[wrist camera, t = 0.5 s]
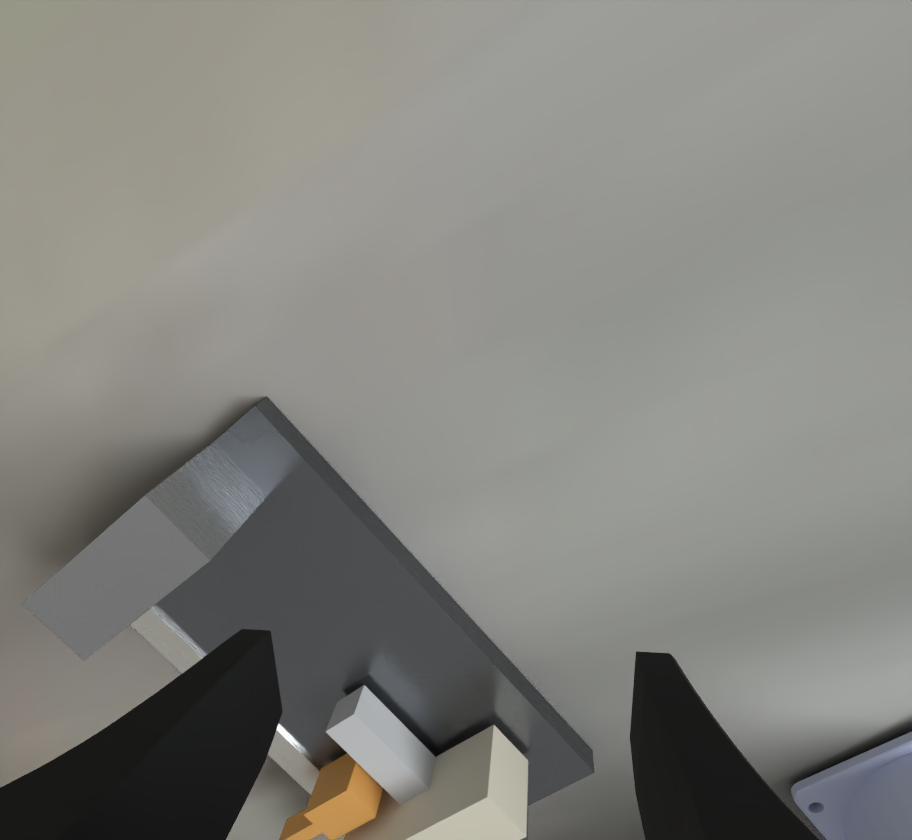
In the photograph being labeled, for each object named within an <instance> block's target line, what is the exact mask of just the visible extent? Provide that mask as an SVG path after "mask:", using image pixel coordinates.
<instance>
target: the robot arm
mask: <svg viewBox="0 0 912 840" xmlns="http://www.w3.org/2000/svg"><path fill="white" fill-rule="evenodd" d="M282 712H283V710H282V703H281V697H280V690H279V683H278V676H277V670H276V663H275V656H274V650H273V643H272V636H271V631H270V630H253V629H241V630H240V631H239V632H237V633H236V634H234V635H233V636H231V637H230V638H229V639H227V640H226V641H225V642H223V643H222V644H221V645H219V646H218V647H217V648H215V649H214V650H213V651H211V652H210V653H209V654H207V655H206V656H205V657H204V658H202V659H201V660H200V661H198V662H197V663H196V664H194V665H193V666H192V667H190V668H189V669H188V670H186V671H185V672H184V673H182V674H181V675H180V676H178V677H177V678H176V679H174V680H173V681H172V682H170V683H169V684H168V685H166V686H165V687H164V688H162V689H161V690H160V691H158V692H157V693H156V694H154V695H153V696H151V697H150V698H148V699H147V700H145V701H144V702H143V703H141V704H140V705H138V706H137V707H135V708H134V709H132V710H131V711H130V712H128V713H127V714H125V715H124V716H122V717H121V718H119V719H118V720H117V721H115V722H114V723H112V724H111V725H109V726H108V727H106V728H105V729H103V730H102V731H100V732H99V733H97V734H95V735H94V736H92V737H91V738H89V739H87V740H86V741H84V742H83V743H81V744H79V745H78V746H76V747H74V748H73V749H71V750H69V751H67V752H66V753H64V754H62V755H61V756H59V757H57V758H56V759H54V760H52V761H50V762H49V763H47V764H45V765H43V766H41V767H40V768H38V769H36V770H34V771H32V772H30V773H28V774H26V775H24V776H22V777H20V778H18V779H17V780H15V781H13V782H11V783H9V784H7V785H5V786H3V787H1V788H0V840H226V838H227V836H228V834H229V832H230V830H231V828H232V826H233V824H234V822H235V820H236V818H237V816H238V814H239V812H240V811H241V809H242V807H243V805H244V803H245V801H246V799H247V797H248V795H249V793H250V791H251V789H252V787H253V785H254V783H255V781H256V779H257V777H258V775H259V773H260V770H261V768H262V766H263V764H264V762H265V760H266V757H267V754H268V752H269V749H270V746H271V744H272V741H273V738H274V736H275V733H276V730H277V727H278V724H279V721H280V718H281V715H282ZM630 742H631V752H632V762H633V772H634V781H635V790H636V796H637V801H638V806H639V811H640V815H641V820H642V825H643V830H644V834H645V839H646V840H819V839H818V838H817V837H816V836H815V835H814V834H813V833H812V832H811V831H810V830H809V829H808V828H807V827H806V826H805V825H804V824H803V823H802V822H801V821H800V820H799V819H798V818H797V816H796V815H795V814H794V813H793V812H792V811H791V810H790V809H789V808H788V807H787V806H786V805H785V804H784V803H783V802H782V800H781V799H780V798H779V797H778V796H777V795H776V794H775V793H774V791H773V790H772V789H771V788H770V787H769V786H768V785H767V783H766V782H765V781H764V780H763V779H762V778H761V776H760V775H759V774H758V773H757V772H756V770H755V769H754V768H753V767H752V766H751V765H750V763H749V762H748V761H747V760H746V758H745V757H744V756H743V755H742V753H741V752H740V751H739V750H738V748H737V747H736V746H735V745H734V743H733V742H732V741H731V739H730V738H729V737H728V735H727V734H726V733H725V731H724V730H723V729H722V727H721V726H720V725H719V723H718V722H717V721H716V719H715V718H714V717H713V715H712V714H711V713H710V711H709V710H708V708H707V707H706V706H705V704H704V703H703V701H702V700H701V698H700V697H699V695H698V694H697V692H696V691H695V690H694V688H693V687H692V685H691V684H690V682H689V680H688V679H687V677H686V676H685V674H684V673H683V671H682V669H681V668H680V666H679V665H678V663H677V661H676V660H675V659H674V657H673V656H672V655H671V654H669V653H651V652H636V660H635V675H634V689H633V703H632V717H631V731H630ZM791 794H792V797H793V799H794V801H795V803H796V804H797V806H798V807H799V808H800V809H801V810H802V811H803V813H804V814H805V815H806V816H807V817H808V818H809V820H810V821H811V822H812V823H813V824H814V826H815V827H816V828H817V829H818V830H819V831H820V833H821V834H822V835H823V836H824V837H825V838H826V840H912V732H909V733H907V734H905V735H902V736H900V737H898V738H896V739H893V740H891V741H889V742H887V743H884V744H882V745H880V746H878V747H875V748H873V749H871V750H869V751H866V752H864V753H862V754H860V755H857V756H855V757H853V758H851V759H848V760H846V761H844V762H842V763H839V764H837V765H835V766H833V767H830V768H828V769H826V770H823V771H821V772H819V773H817V774H814V775H812V776H810V777H808V778H805V779H803V780H801V781H799V782H797V783H795V784H794V785H793V786H792V788H791ZM815 802H817V803H815ZM812 803H813V804H812Z"/></svg>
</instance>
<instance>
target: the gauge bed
mask: <svg viewBox="0 0 912 840" xmlns="http://www.w3.org/2000/svg"><path fill="white" fill-rule="evenodd" d="M22 605H24V606H25V607H26V608H27V609H28V610H29V611H30V612H31V613H32V614H33V615H34V616H36V617H37V618H38V619H39V620H40V621H41V622H42V623H43V624H44V625H45V626H46V627H48V628H49V629H50V630H51V631H52V632H53V633H54V634H55V635H56V636H57V637H59V638H60V639H61V640H62V641H63V642H64V643H65V644H66V645H67V646H68V647H69V648H71V649H72V650H73V651H74V652H75V653H76V654H77V655H78V656H79V657H80V658H81V659H83V660H85V659H87V658H88V657H89V656H90V655H92V654H93V653H94V652H95V651H97V650H98V649H99V648H100V647H102V646H103V645H104V644H106V643H107V642H108V641H109V640H111V639H112V638H113V637H114V636H116V635H117V634H118V633H119V632H121V631H122V630H123V629H124V628H126V627H127V626H128V625H131V626H132V627H133V628H134V629H135V630H136V631H137V632H139V633H140V634H141V635H142V636H143V637H144V638H145V639H146V640H147V641H148V642H149V643H150V644H151V645H152V646H153V647H154V648H155V649H157V650H158V651H159V652H160V653H161V654H162V655H163V656H164V657H165V658H166V659H167V660H168V661H169V662H170V663H171V664H172V665H173V666H175V667H176V668H177V669H178V670H179V671H180V672H181V673H184V672H185V671H186V670H188V669H189V668H190V667H192V666H193V665H194V664H196V663H197V662H198V661H200V660H201V659H202V658H204V657H205V656H206V655H207V654H209V653H210V652H211V651H213V650H214V649H215V648H217V647H218V646H219V645H221V644H222V643H223V642H225V641H226V640H227V639H229V638H230V637H231V636H233V635H234V634H236V633H237V632H239V631H240V630H241V629H253V630H270V631H271V636H272V643H273V650H274V656H275V663H276V670H277V676H278V683H279V690H280V697H281V703H282V710H283V712H282V715H281V718H280V721H279V724H278V727H277V730H276V733H275V736H274V738H273V741H272V744H271V746H270V749H269V752H268V755H269V756H270V757H271V758H272V759H273V760H274V761H275V762H276V763H277V764H278V765H279V766H280V767H282V768H283V769H284V770H285V771H286V772H287V773H288V774H289V775H290V776H291V777H292V778H293V779H294V780H295V781H296V782H297V783H298V784H300V785H301V786H302V787H303V788H304V789H305V790H306V791H307V792H308V793H309V794H310V795H311V794H312V791H313V789H314V786H315V783H316V781H317V778H318V775H319V773H320V770H321V768H323V767H325V766H326V765H328V764H330V763H331V762H333V761H335V760H337V759H338V758H340V757H342V756H343V755H345V754H347V752H346V751H345V750H344V749H343V748H342V747H341V746H340V745H339V744H338V743H337V742H336V741H335V740H333V739H332V738H331V737H330V736H329V735H328V734H327V733H326V732H325V731H326V729H327V726H328V724H329V721H330V719H331V716H332V714H333V711H334V709H335V706H336V704H337V702H338V701H340V700H341V699H343V698H344V697H346V696H348V695H349V694H351V693H352V692H354V691H356V690H357V689H359V688H360V687H362V686H363V685H365V686H366V687H367V688H368V689H369V690H370V691H371V692H372V693H373V694H374V695H375V696H376V697H377V698H378V699H379V700H380V701H381V702H382V703H383V704H384V705H385V706H386V707H387V708H388V709H389V710H390V711H391V712H392V713H393V714H394V715H395V716H396V717H397V718H398V719H399V720H400V721H401V722H402V724H403V725H404V726H405V727H406V728H407V729H408V730H409V731H410V732H411V733H412V734H413V735H414V736H415V737H416V738H417V739H418V740H419V741H420V742H421V743H422V744H423V745H424V746H425V747H426V748H427V749H428V750H429V751H430V752H431V753H432V754H433V755H434V756H435V757H437V756H438V755H440V754H442V753H444V752H446V751H447V750H449V749H451V748H453V747H454V746H456V745H458V744H460V743H462V742H463V741H465V740H467V739H469V738H471V737H472V736H474V735H476V734H478V733H480V732H481V731H483V730H485V729H487V728H488V727H490V726H492V725H495V726H496V727H497V728H498V729H499V730H500V731H501V733H502V734H503V735H504V736H505V737H506V738H507V739H508V740H509V741H510V742H511V743H512V744H513V745H514V746H515V747H516V748H517V749H518V750H519V751H520V753H521V754H522V755H523V756H524V757H525V758H526V759H527V760H528V772H529V790H528V805H530V804H532V803H534V802H536V801H538V800H540V799H542V798H544V797H546V796H548V795H550V794H552V793H554V792H556V791H558V790H560V789H562V788H564V787H566V786H568V785H570V784H572V783H574V782H576V781H578V780H580V779H582V778H584V777H586V776H588V775H590V774H592V773H594V764H593V752H592V750H591V749H590V747H589V746H588V745H587V744H586V743H585V742H584V741H583V740H582V739H581V738H580V737H579V736H578V734H577V733H576V732H575V731H574V730H573V729H572V728H571V727H570V726H569V725H568V724H567V722H566V721H565V720H564V719H563V718H562V717H561V716H560V715H559V714H558V713H557V712H556V711H555V709H554V708H553V707H552V706H551V705H550V704H549V703H548V702H547V701H546V700H545V699H544V697H543V696H542V695H541V694H540V693H539V692H538V691H537V690H536V689H535V688H534V687H533V685H532V684H531V683H530V682H529V681H528V680H527V679H526V678H525V677H524V676H523V675H522V674H521V672H520V671H519V670H518V669H517V668H516V667H515V666H514V665H513V664H512V663H511V662H510V660H509V659H508V658H507V657H506V656H505V655H504V654H503V653H502V652H501V651H500V650H499V649H498V647H497V646H496V645H495V644H494V643H493V642H492V641H491V640H490V639H489V638H488V637H487V635H486V634H485V633H484V632H483V631H482V630H481V629H480V628H479V627H478V626H477V625H476V623H475V622H474V621H473V620H472V619H471V618H470V617H469V616H468V615H467V614H466V613H465V612H464V610H463V609H462V608H461V607H460V606H459V605H458V604H457V603H456V602H455V601H454V600H453V598H452V597H451V596H450V595H449V594H448V593H447V592H446V591H445V590H444V589H443V588H442V587H441V585H440V584H439V583H438V582H437V581H436V580H435V579H434V578H433V577H432V576H431V575H430V573H429V572H428V571H427V570H426V569H425V568H424V567H423V566H422V565H421V564H420V563H419V562H418V560H417V559H416V558H415V557H414V556H413V555H412V554H411V553H410V552H409V551H408V550H407V548H406V547H405V546H404V545H403V544H402V543H401V542H400V541H399V540H398V539H397V538H396V536H395V535H394V534H393V533H392V532H391V531H390V530H389V529H388V528H387V527H386V526H385V525H384V523H383V522H382V521H381V520H380V519H379V518H378V517H377V516H376V515H375V514H374V513H373V511H372V510H371V509H370V508H369V507H368V506H367V505H366V504H365V503H364V502H363V501H362V500H361V498H360V497H359V496H358V495H357V494H356V493H355V492H354V491H353V490H352V489H351V488H350V486H349V485H348V484H347V483H346V482H345V481H344V480H343V479H342V478H341V477H340V476H339V474H338V473H337V472H336V471H335V470H334V469H333V468H332V467H331V466H330V465H329V464H328V463H327V461H326V460H325V459H324V458H323V457H322V456H321V455H320V454H319V453H318V452H317V451H316V449H315V448H314V447H313V446H312V445H311V444H310V443H309V442H308V441H307V440H306V439H305V438H304V436H303V435H302V434H301V433H300V432H299V431H298V430H297V429H296V428H295V427H294V426H293V424H292V423H291V422H290V421H289V420H288V419H287V418H286V417H285V416H284V415H283V414H282V413H281V411H280V410H279V409H278V408H277V407H276V406H275V405H274V404H273V403H272V402H271V401H270V399H269V398H268V397H266V398H264V399H263V400H262V401H260V402H259V403H258V404H256V405H255V406H254V407H253V408H252V409H251V410H249V411H248V412H247V413H246V414H245V415H244V416H243V417H241V418H240V419H239V420H238V421H237V422H236V423H235V424H233V425H232V426H231V427H230V428H229V429H228V430H227V431H225V432H224V433H223V434H222V435H221V436H220V437H219V438H217V439H216V440H215V441H214V442H213V443H211V444H210V445H209V446H208V447H206V448H205V449H204V450H202V451H201V452H200V453H199V454H197V455H196V456H195V457H193V458H192V459H191V460H190V461H188V462H187V463H186V464H184V465H183V466H182V467H181V468H179V469H178V470H177V471H175V472H174V473H173V474H172V475H170V476H169V477H168V478H166V479H165V480H164V481H163V482H161V483H160V484H159V485H157V486H156V487H155V488H154V489H152V490H151V491H150V492H148V493H147V494H146V495H145V496H144V497H142V498H141V499H140V500H139V501H138V502H137V503H136V504H134V505H133V506H132V507H131V508H130V509H129V510H128V511H126V512H125V513H124V514H123V515H122V516H121V517H120V518H119V519H117V520H116V521H115V522H114V523H113V524H112V525H111V526H109V527H108V528H107V529H106V530H105V531H104V532H103V533H101V534H100V535H99V536H98V537H97V538H96V539H95V540H94V541H92V542H91V543H90V544H89V545H88V546H87V547H86V548H84V549H83V550H82V551H81V552H80V553H79V554H78V555H77V556H75V557H74V558H73V559H72V560H71V561H70V562H69V563H67V564H66V565H65V566H64V567H63V568H62V569H61V570H59V571H58V572H57V573H56V574H55V575H54V576H53V577H52V578H50V579H49V580H48V581H47V582H46V583H45V584H44V585H42V586H41V587H40V588H39V589H38V590H37V591H36V592H35V593H33V594H32V595H31V596H30V597H29V598H28V599H27V600H25V601H24V602H23V603H22Z"/></svg>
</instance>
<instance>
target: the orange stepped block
mask: <svg viewBox="0 0 912 840" xmlns="http://www.w3.org/2000/svg"><path fill="white" fill-rule="evenodd" d="M382 791H383V787H382V786H381V785H380V784H379V783H378V782H377V781H375V780H374V779H373V778H372V777H371V776H370V775H369V774H368V773H367V772H366V771H365V770H364V769H363V768H362V767H361V766H360V765H359V764H358V763H357V762H356V761H355V760H354V759H353V758H352V757H351V756H350V755H349V754H348V753H347V754H345V755H343V756H342V757H340V758H338V759H337V760H335V761H333V762H331V763H330V764H328V765H326V766H325V767H323V768H321V770H320V773H319V775H318V778H317V781H316V783H315V786H314V789H313V791H312V794H311V797H310V799H309V802H308V804H307V807H306V809H304V810H303V811H301V812H299V813H297V814H296V815H294V816H292V817H290V818H289V819H287V821H286V823H285V826H284V828H283V831H282V833H281V836H280V838H279V840H310V839H312V838H313V837H315V836H317V835H319V834H321V833H323V834H324V835H325V836H327V837H328V838H329V839H330V840H335V839H337V838H339V837H341V836H342V835H344V834H346V833H348V832H350V831H352V830H353V829H355V828H357V827H359V826H361V825H363V824H365V823H366V822H368V821H370V820H372V819H374V818H375V817H376V813H377V810H378V806H379V802H380V798H381V795H382Z"/></svg>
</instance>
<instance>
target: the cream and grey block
mask: <svg viewBox="0 0 912 840" xmlns="http://www.w3.org/2000/svg"><path fill="white" fill-rule="evenodd" d="M325 732H326V733H327V734H328V735H329V736H330V737H331V738H332V739H333V740H335V741H336V742H337V743H338V744H339V745H340V746H341V747H342V748H343V749H344V750H345V751H346V752H347V753H348V754H349V755H350V756H351V757H352V758H353V759H354V760H355V761H356V762H357V763H358V764H359V765H360V766H361V767H362V768H363V769H364V770H365V771H366V772H367V773H368V774H369V775H370V776H371V777H372V778H373V779H374V780H375V781H377V782H378V783H379V784H380V785H381V786H382V787H383V791H382V795H381V798H380V802H379V806H378V810H377V813H376V817H375V818H374V819H372V820H370V821H368V822H366V823H365V824H363V825H361V826H359V827H357V828H355V829H353V830H352V831H350V832H348V833H346V835H345V838H344V840H527V834H528V790H529V772H528V760H527V759H526V758H525V757H524V756H523V755H522V754H521V753H520V751H519V750H518V749H517V748H516V747H515V746H514V745H513V744H512V743H511V742H510V741H509V740H508V739H507V738H506V737H505V736H504V735H503V734H502V733H501V731H500V730H499V729H498V728H497V727H496V726H495V725H492V726H490V727H488V728H487V729H485V730H483V731H481V732H480V733H478V734H476V735H474V736H472V737H471V738H469V739H467V740H465V741H463V742H462V743H460V744H458V745H456V746H454V747H453V748H451V749H449V750H447V751H446V752H444V753H442V754H440V755H438V756H437V757H435V756H434V755H433V754H432V753H431V752H430V751H429V750H428V749H427V748H426V747H425V746H424V745H423V744H422V743H421V742H420V741H419V740H418V739H417V738H416V737H415V736H414V735H413V734H412V733H411V732H410V731H409V730H408V729H407V728H406V727H405V726H404V725H403V724H402V722H401V721H400V720H399V719H398V718H397V717H396V716H395V715H394V714H393V713H392V712H391V711H390V710H389V709H388V708H387V707H386V706H385V705H384V704H383V703H382V702H381V701H380V700H379V699H378V698H377V697H376V696H375V695H374V694H373V693H372V692H371V691H370V690H369V689H368V688H367V687H366V686H365V685H363V686H362V687H360V688H359V689H357V690H356V691H354V692H352V693H351V694H349V695H348V696H346V697H344V698H343V699H341V700H340V701H338V702H337V704H336V706H335V709H334V711H333V714H332V716H331V719H330V721H329V724H328V726H327V729H326V731H325Z"/></svg>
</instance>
